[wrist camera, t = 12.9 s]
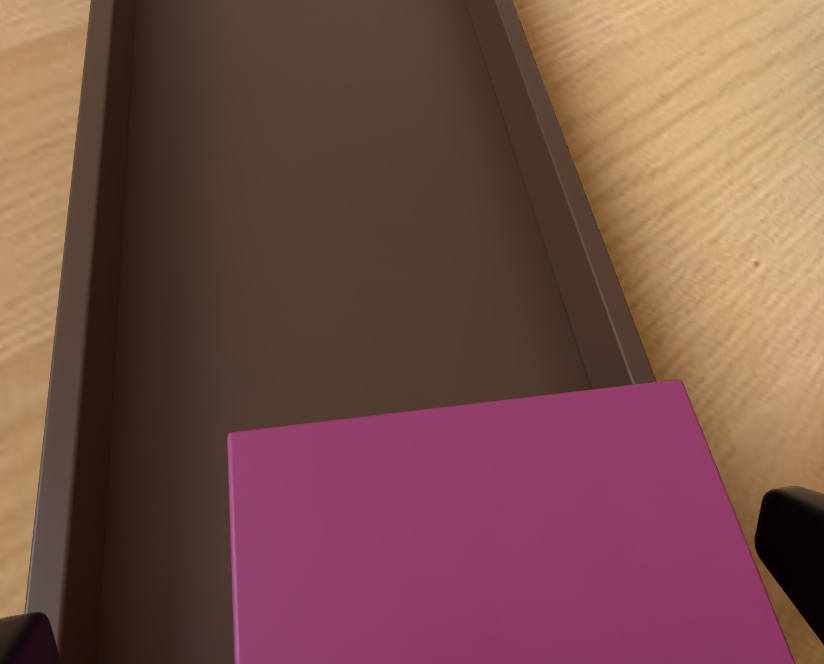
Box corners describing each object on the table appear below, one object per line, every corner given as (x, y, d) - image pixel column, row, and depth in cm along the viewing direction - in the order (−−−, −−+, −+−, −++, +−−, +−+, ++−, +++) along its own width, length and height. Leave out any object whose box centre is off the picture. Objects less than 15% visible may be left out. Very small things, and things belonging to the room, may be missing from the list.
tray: (736, 817, 11) (841, 863, 9) (53, 1022, 9) (-38, 1156, 7) (400, -206, 29) (407, -277, 27) (140, -232, 27) (124, -314, 24)
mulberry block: (549, 763, 11) (924, 975, 4) (296, 829, 10) (254, 1240, 3) (493, 509, 13) (683, 376, 6) (277, 543, 12) (226, 430, 5)
